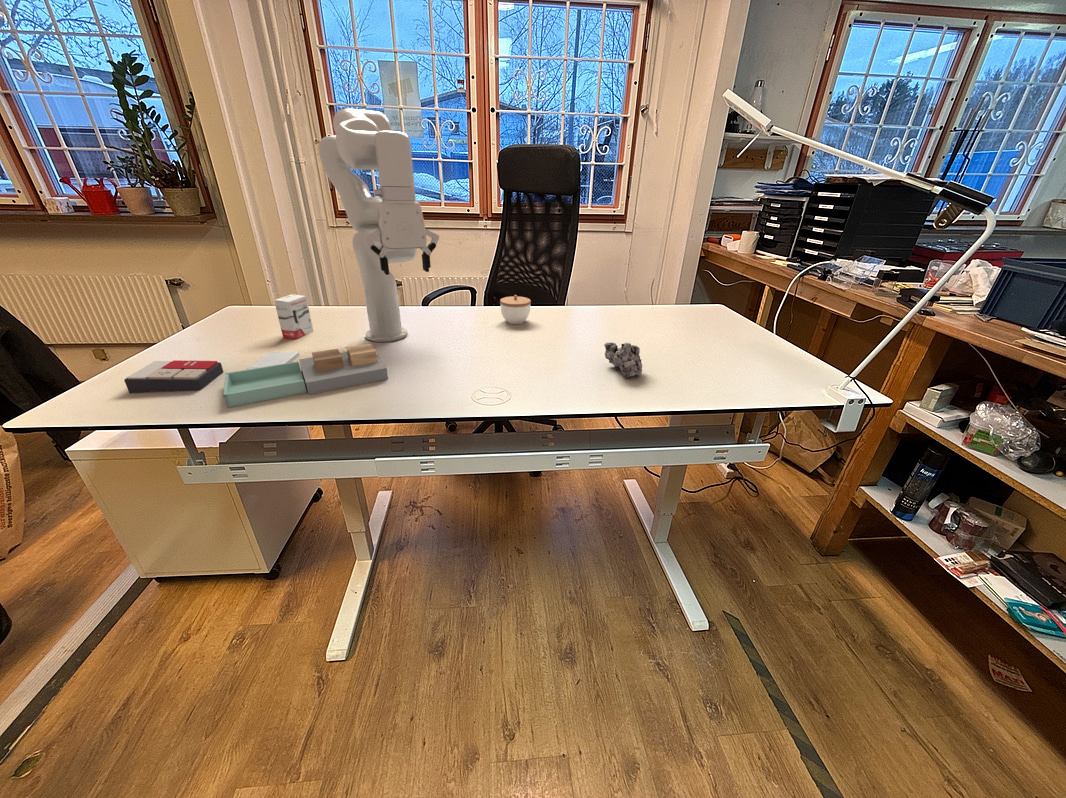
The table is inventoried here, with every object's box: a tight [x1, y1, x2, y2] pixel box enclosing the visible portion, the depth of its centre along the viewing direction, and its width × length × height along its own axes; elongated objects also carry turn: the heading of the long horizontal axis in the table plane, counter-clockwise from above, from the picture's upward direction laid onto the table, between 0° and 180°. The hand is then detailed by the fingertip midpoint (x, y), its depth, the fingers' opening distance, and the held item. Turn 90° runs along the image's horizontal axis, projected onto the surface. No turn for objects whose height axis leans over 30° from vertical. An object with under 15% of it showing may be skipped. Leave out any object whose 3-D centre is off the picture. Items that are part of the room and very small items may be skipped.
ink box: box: [274, 293, 314, 340], centre depth 131 cm, size 8×5×12 cm, turn 169°
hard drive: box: [245, 351, 301, 370], centre depth 112 cm, size 2×8×12 cm
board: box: [298, 351, 389, 395], centre depth 107 cm, size 16×18×3 cm
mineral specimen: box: [603, 341, 643, 380], centre depth 111 cm, size 12×9×10 cm
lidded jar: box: [499, 294, 532, 325], centre depth 149 cm, size 11×11×9 cm
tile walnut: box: [311, 348, 344, 372], centre depth 104 cm, size 6×6×3 cm
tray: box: [222, 360, 308, 408], centre depth 99 cm, size 13×15×3 cm
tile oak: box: [345, 343, 378, 366], centre depth 108 cm, size 6×6×3 cm
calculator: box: [124, 359, 224, 394], centre depth 101 cm, size 11×4×15 cm
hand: (406, 272), depth 104 cm, fingers open, 9 cm apart
